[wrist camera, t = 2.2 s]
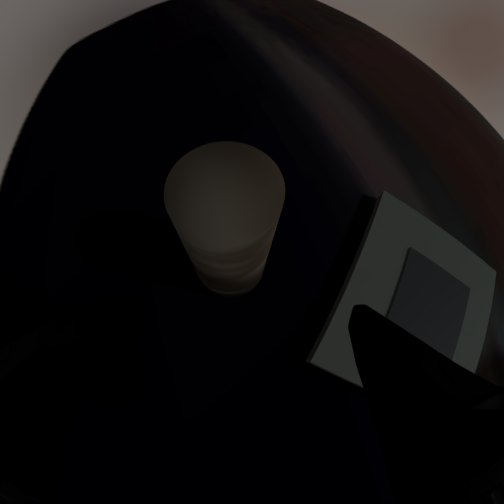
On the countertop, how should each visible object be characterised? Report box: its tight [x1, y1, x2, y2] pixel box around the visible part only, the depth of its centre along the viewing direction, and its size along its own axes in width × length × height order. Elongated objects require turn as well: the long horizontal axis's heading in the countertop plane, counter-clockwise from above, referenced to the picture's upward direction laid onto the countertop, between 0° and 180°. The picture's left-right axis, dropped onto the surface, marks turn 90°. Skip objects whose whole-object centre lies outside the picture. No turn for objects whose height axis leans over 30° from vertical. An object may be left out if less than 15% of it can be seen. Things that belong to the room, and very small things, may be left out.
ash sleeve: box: [164, 141, 285, 298], centre depth 16 cm, size 5×5×11 cm
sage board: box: [306, 191, 496, 389], centre depth 20 cm, size 16×16×2 cm
